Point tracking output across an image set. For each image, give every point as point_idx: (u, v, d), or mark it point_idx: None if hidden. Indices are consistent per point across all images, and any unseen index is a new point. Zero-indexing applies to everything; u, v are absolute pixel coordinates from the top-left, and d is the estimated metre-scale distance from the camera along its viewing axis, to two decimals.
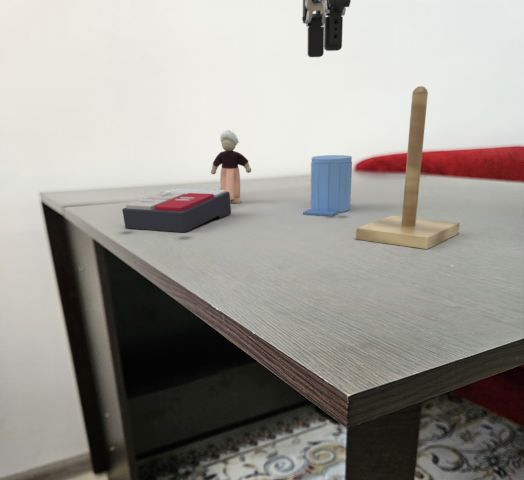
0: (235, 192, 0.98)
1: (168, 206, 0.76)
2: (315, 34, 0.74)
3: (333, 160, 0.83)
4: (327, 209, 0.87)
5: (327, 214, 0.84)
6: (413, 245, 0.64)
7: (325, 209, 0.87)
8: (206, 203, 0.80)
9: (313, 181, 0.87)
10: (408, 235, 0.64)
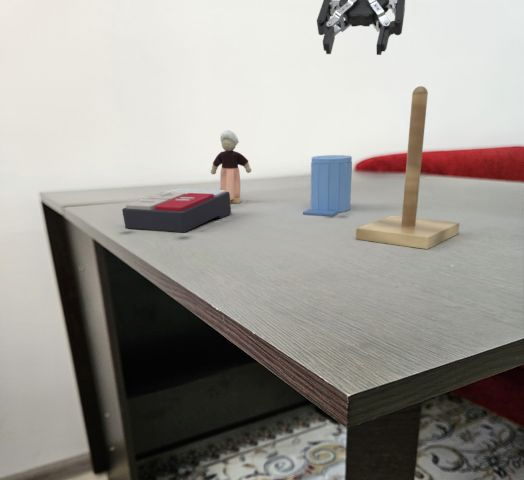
0: (235, 192, 0.98)
1: (168, 206, 0.76)
2: None
3: (333, 160, 0.83)
4: (327, 209, 0.87)
5: (327, 214, 0.84)
6: (413, 245, 0.64)
7: (325, 209, 0.87)
8: (206, 203, 0.80)
9: (313, 181, 0.87)
10: (408, 235, 0.64)
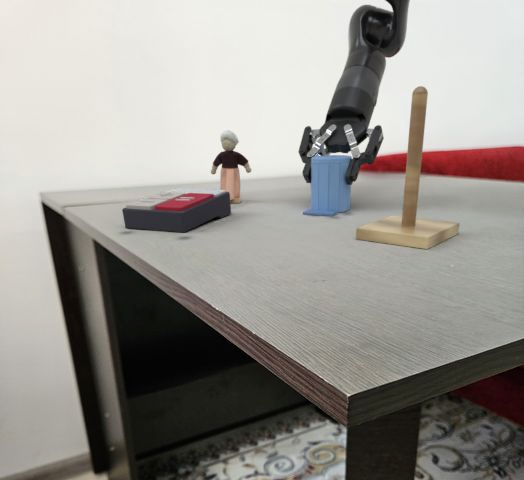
0: (235, 192, 0.98)
1: (168, 206, 0.76)
2: None
3: (333, 160, 0.83)
4: (327, 209, 0.87)
5: (327, 214, 0.84)
6: (413, 245, 0.64)
7: (325, 209, 0.87)
8: (206, 203, 0.80)
9: (313, 181, 0.87)
10: (408, 235, 0.64)
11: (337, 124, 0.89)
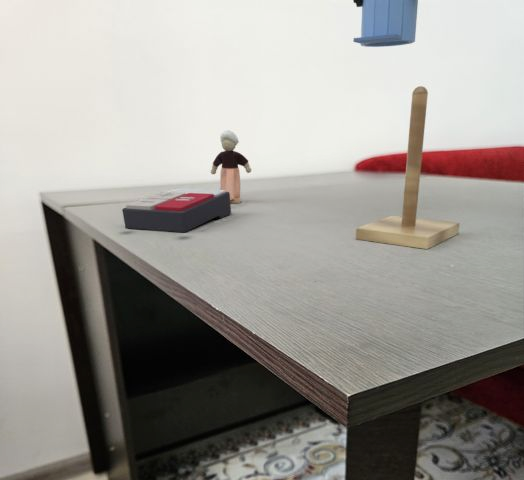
0: (235, 192, 0.98)
1: (168, 206, 0.76)
2: None
3: None
4: None
5: (389, 36, 0.62)
6: (413, 245, 0.64)
7: None
8: (206, 203, 0.80)
9: None
10: (408, 235, 0.64)
11: None
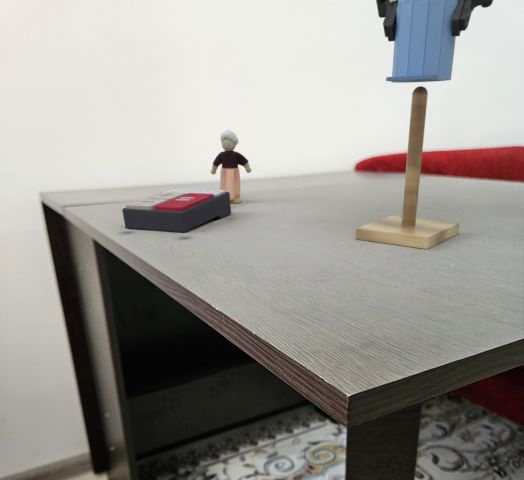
0: (235, 192, 0.98)
1: (168, 206, 0.76)
2: None
3: None
4: (421, 74, 0.59)
5: (426, 76, 0.57)
6: (413, 245, 0.64)
7: (418, 74, 0.59)
8: (206, 203, 0.80)
9: (401, 33, 0.59)
10: (408, 235, 0.64)
11: None
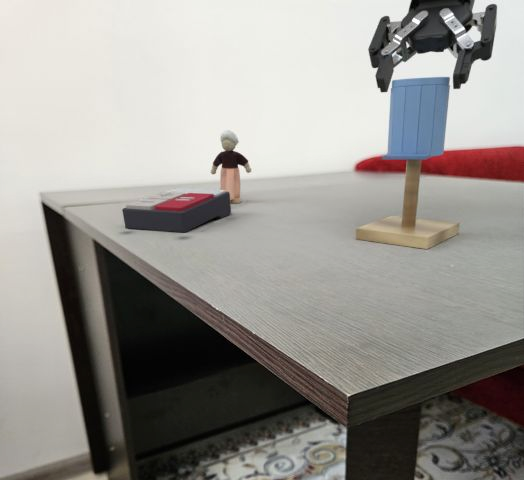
0: (235, 192, 0.98)
1: (168, 206, 0.76)
2: None
3: (427, 80, 0.59)
4: (415, 152, 0.62)
5: (419, 157, 0.60)
6: (413, 245, 0.64)
7: (412, 152, 0.63)
8: (206, 203, 0.80)
9: (395, 113, 0.62)
10: (408, 235, 0.64)
11: (427, 12, 0.63)
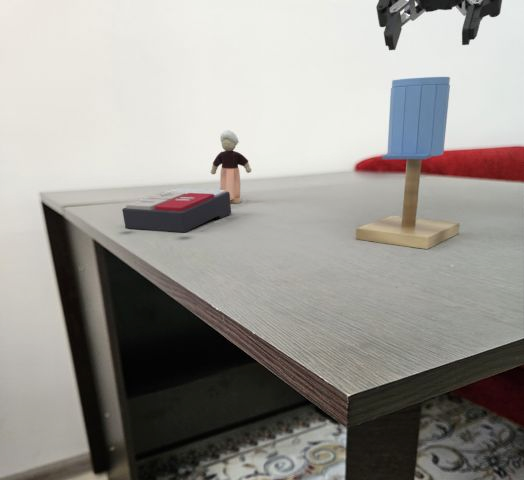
0: (235, 192, 0.98)
1: (168, 206, 0.76)
2: None
3: (427, 79, 0.59)
4: (415, 152, 0.62)
5: (419, 157, 0.60)
6: (413, 245, 0.64)
7: (412, 152, 0.62)
8: (206, 203, 0.80)
9: (395, 113, 0.62)
10: (408, 235, 0.64)
11: None
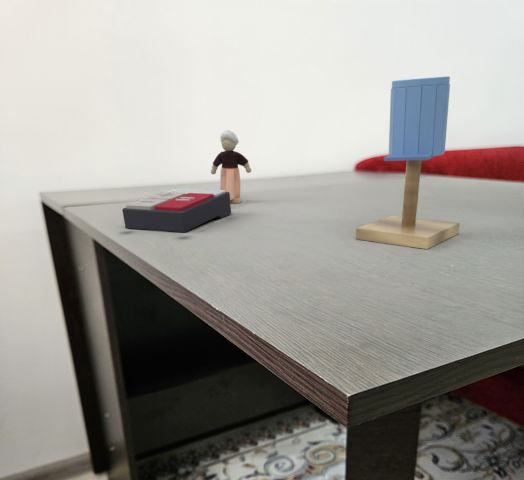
0: (235, 192, 0.98)
1: (168, 206, 0.76)
2: None
3: (428, 80, 0.59)
4: (417, 152, 0.63)
5: (421, 158, 0.60)
6: (413, 245, 0.64)
7: (414, 153, 0.63)
8: (206, 203, 0.80)
9: (396, 114, 0.62)
10: (408, 235, 0.64)
11: None
